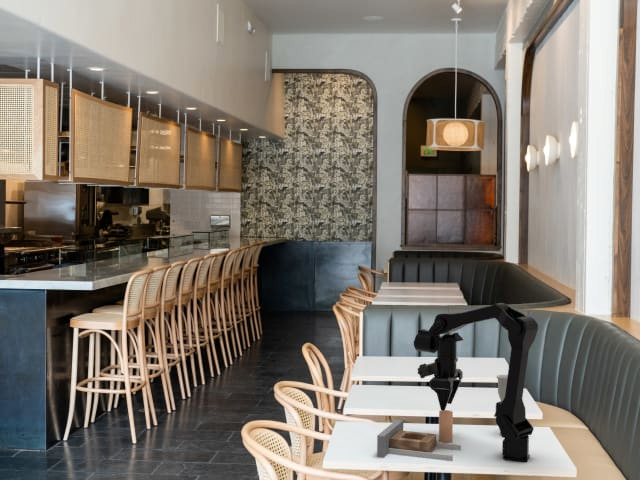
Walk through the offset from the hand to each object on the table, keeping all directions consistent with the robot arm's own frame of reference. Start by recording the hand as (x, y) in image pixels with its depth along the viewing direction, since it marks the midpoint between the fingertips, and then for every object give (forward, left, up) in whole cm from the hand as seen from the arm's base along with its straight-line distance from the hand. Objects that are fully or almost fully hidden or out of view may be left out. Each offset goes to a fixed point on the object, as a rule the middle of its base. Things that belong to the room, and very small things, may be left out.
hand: (446, 406), depth 241 cm
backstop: (+4, +13, -10) cm, 17 cm away
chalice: (-16, -15, -11) cm, 24 cm away
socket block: (+7, +13, -10) cm, 18 cm away
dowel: (0, 0, -10) cm, 10 cm away
